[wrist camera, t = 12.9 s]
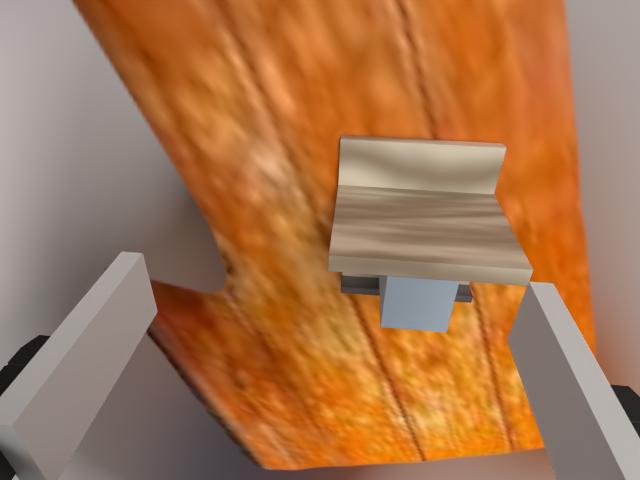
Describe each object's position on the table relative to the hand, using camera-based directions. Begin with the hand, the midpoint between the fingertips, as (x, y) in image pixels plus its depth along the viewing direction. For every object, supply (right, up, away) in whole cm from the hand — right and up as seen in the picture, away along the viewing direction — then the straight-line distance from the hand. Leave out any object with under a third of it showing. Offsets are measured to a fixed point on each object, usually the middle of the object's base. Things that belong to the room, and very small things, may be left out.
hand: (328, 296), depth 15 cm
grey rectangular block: (+9, +1, +30) cm, 32 cm away
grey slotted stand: (+10, +6, +32) cm, 34 cm away
